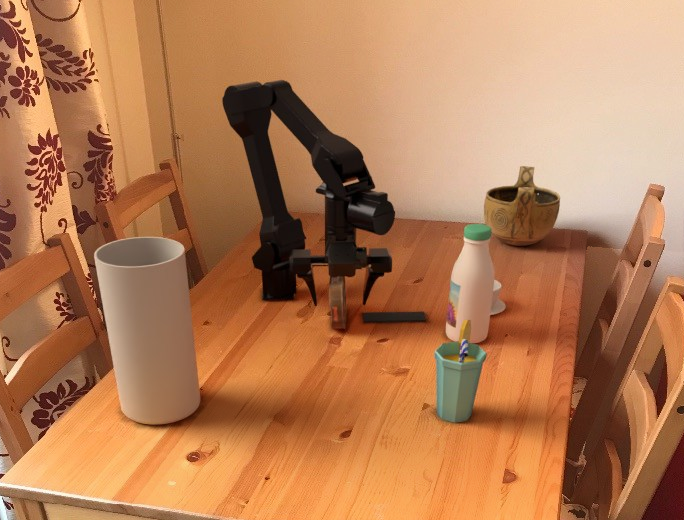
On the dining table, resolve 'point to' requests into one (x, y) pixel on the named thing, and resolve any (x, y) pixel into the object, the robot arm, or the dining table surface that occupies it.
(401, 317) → the strip
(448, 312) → the milk bottle
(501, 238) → the ceramic bowl
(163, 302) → the cylinder vase
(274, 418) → the dining table surface
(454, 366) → the cup
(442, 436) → the dining table surface
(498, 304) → the teacup
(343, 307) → the tin
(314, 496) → the dining table surface
